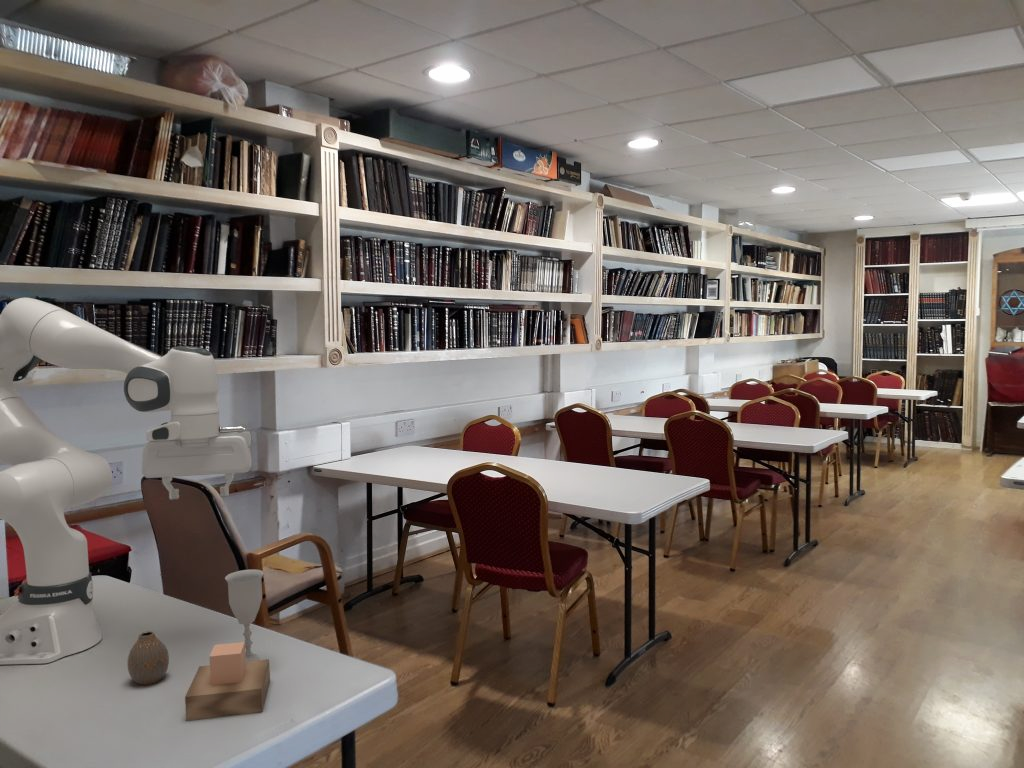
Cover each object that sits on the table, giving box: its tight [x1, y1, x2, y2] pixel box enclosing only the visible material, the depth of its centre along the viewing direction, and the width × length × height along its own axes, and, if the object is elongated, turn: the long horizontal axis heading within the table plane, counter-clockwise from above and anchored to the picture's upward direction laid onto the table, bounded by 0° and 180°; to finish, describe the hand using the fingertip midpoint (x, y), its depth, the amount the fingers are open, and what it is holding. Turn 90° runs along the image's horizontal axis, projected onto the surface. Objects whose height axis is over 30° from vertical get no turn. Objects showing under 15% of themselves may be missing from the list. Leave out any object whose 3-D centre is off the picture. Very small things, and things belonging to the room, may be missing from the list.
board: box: [184, 658, 271, 722], centre depth 134 cm, size 12×12×4 cm
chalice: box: [224, 568, 265, 662], centre depth 146 cm, size 7×7×18 cm
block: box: [209, 641, 246, 685], centre depth 134 cm, size 5×5×5 cm
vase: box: [127, 630, 170, 686], centre depth 142 cm, size 7×7×9 cm
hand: (199, 497), depth 154 cm, fingers open, 8 cm apart
